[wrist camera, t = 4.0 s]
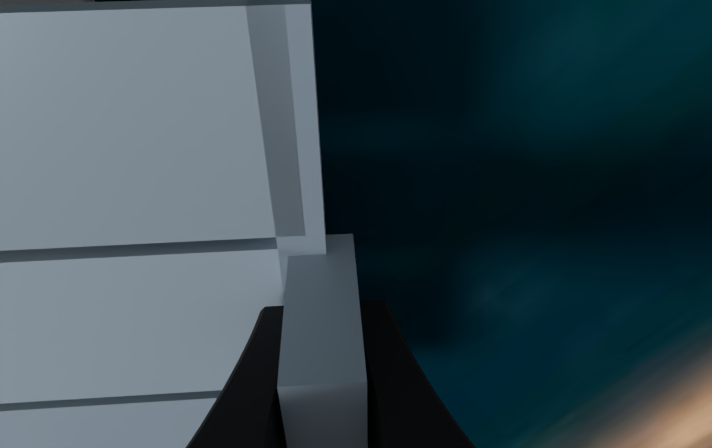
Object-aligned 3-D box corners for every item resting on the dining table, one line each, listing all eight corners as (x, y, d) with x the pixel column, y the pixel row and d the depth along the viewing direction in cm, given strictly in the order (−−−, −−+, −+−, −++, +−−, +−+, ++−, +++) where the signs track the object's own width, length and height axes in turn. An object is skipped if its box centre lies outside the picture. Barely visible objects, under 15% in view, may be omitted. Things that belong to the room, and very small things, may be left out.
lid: (358, 458, 16) (368, 606, 13) (28, 480, 16) (-50, 639, 12) (346, -6, 8) (365, 66, 5) (-308, 13, 8) (-758, 105, 5)
